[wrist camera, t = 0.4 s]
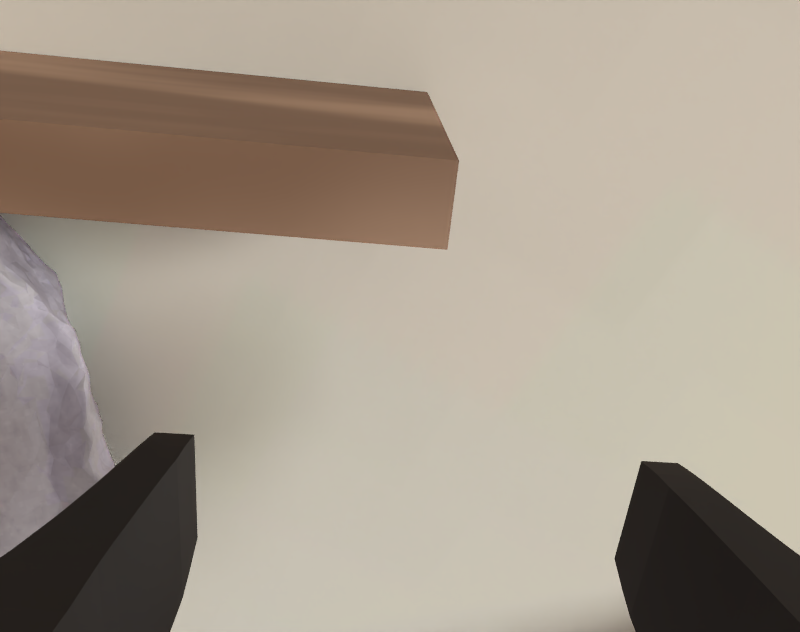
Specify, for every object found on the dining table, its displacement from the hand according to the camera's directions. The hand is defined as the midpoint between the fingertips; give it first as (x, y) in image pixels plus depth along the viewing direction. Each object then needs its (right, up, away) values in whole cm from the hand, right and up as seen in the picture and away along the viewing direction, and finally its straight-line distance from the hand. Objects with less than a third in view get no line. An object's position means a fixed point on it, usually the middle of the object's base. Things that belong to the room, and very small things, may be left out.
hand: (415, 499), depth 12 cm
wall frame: (-22, +10, +6) cm, 24 cm away
